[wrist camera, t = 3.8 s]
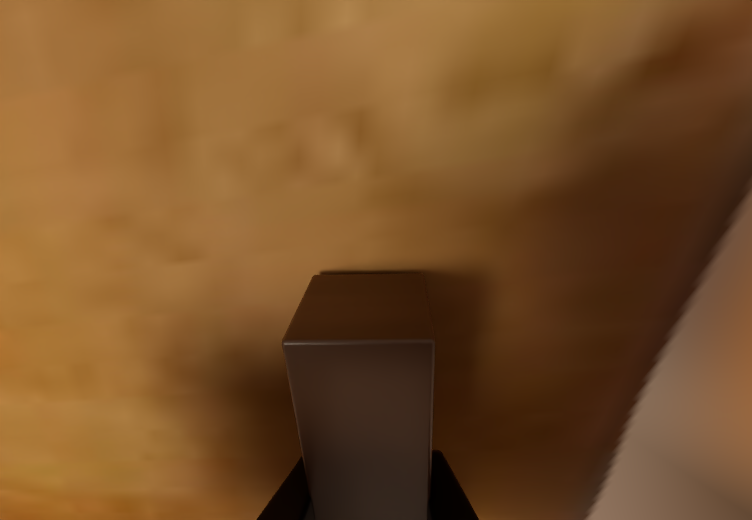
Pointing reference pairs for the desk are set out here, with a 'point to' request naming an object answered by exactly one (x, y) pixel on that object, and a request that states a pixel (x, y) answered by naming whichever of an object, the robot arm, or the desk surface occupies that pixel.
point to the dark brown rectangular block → (364, 394)
